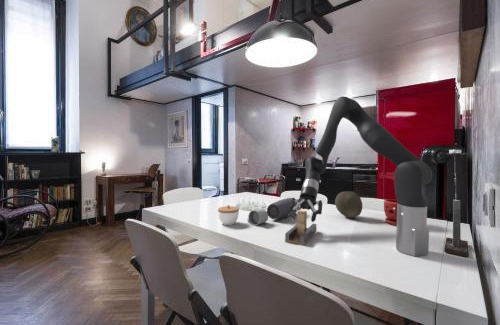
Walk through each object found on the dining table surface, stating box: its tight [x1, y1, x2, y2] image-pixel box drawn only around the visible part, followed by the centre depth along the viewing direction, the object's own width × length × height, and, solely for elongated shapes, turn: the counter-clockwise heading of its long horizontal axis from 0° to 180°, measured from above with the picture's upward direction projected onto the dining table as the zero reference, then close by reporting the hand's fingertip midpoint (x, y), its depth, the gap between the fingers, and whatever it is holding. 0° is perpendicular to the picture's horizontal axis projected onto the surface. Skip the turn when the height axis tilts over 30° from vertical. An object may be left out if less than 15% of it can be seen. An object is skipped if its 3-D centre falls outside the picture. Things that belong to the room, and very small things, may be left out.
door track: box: [284, 223, 318, 246], centre depth 107 cm, size 20×8×4 cm, turn 152°
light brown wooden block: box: [296, 209, 308, 235], centre depth 107 cm, size 4×3×10 cm
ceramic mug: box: [247, 208, 269, 227], centre depth 127 cm, size 11×8×8 cm
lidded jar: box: [217, 205, 240, 226], centre depth 126 cm, size 11×11×9 cm
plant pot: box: [383, 199, 397, 227], centre depth 127 cm, size 13×13×12 cm
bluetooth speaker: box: [266, 197, 298, 220], centre depth 140 cm, size 23×9×10 cm, turn 145°
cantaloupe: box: [334, 190, 363, 219], centre depth 139 cm, size 14×14×15 cm
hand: (302, 219), depth 108 cm, fingers open, 8 cm apart
